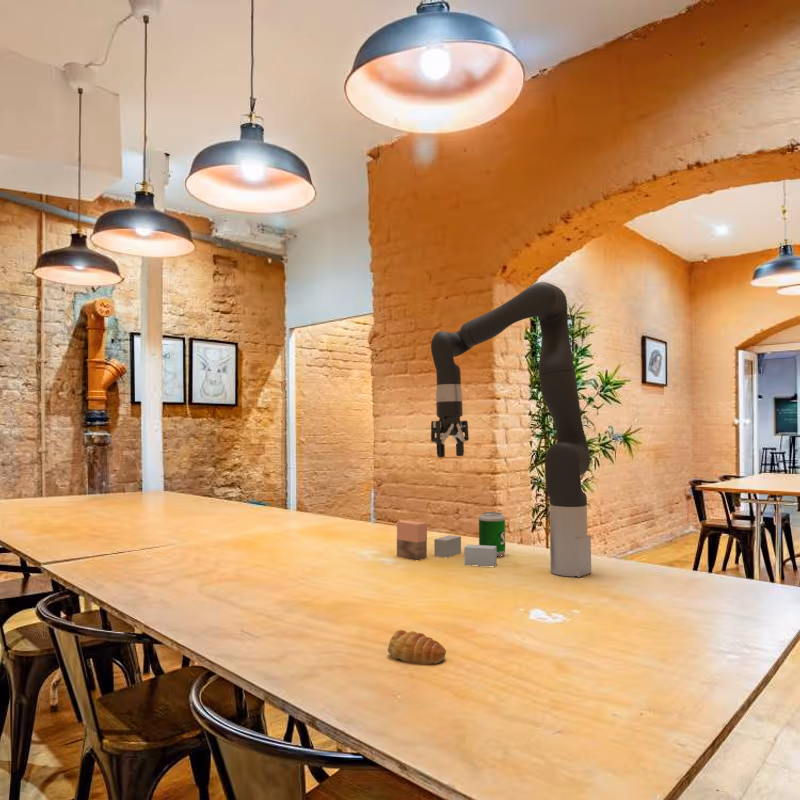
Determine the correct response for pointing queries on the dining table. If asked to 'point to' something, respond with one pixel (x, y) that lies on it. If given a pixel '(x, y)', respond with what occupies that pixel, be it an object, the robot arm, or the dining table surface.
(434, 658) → the pastry
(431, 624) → the dining table surface
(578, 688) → the dining table surface
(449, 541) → the slate brick
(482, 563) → the blue-grey brick
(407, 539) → the terracotta brick
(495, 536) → the soda can
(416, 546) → the walnut brick
